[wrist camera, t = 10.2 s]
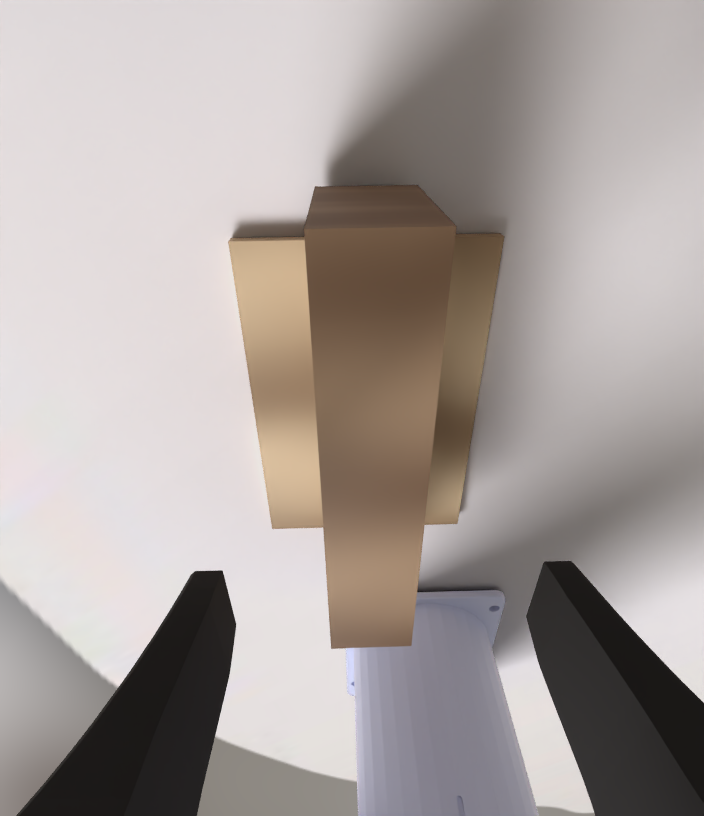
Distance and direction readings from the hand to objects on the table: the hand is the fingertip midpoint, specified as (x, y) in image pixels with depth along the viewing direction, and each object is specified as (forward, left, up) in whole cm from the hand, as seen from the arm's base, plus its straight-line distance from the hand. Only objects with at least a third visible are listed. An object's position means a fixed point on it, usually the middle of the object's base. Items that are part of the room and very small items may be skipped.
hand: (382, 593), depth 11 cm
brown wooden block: (+1, 0, -7) cm, 7 cm away
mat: (0, 0, -8) cm, 8 cm away
